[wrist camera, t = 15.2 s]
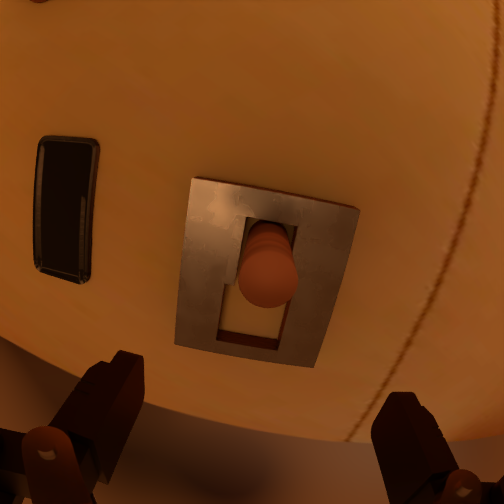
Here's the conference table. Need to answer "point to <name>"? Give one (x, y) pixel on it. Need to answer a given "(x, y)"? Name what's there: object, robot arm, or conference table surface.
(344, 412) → the conference table surface
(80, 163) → the phone
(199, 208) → the keyhole plate
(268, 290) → the peg
